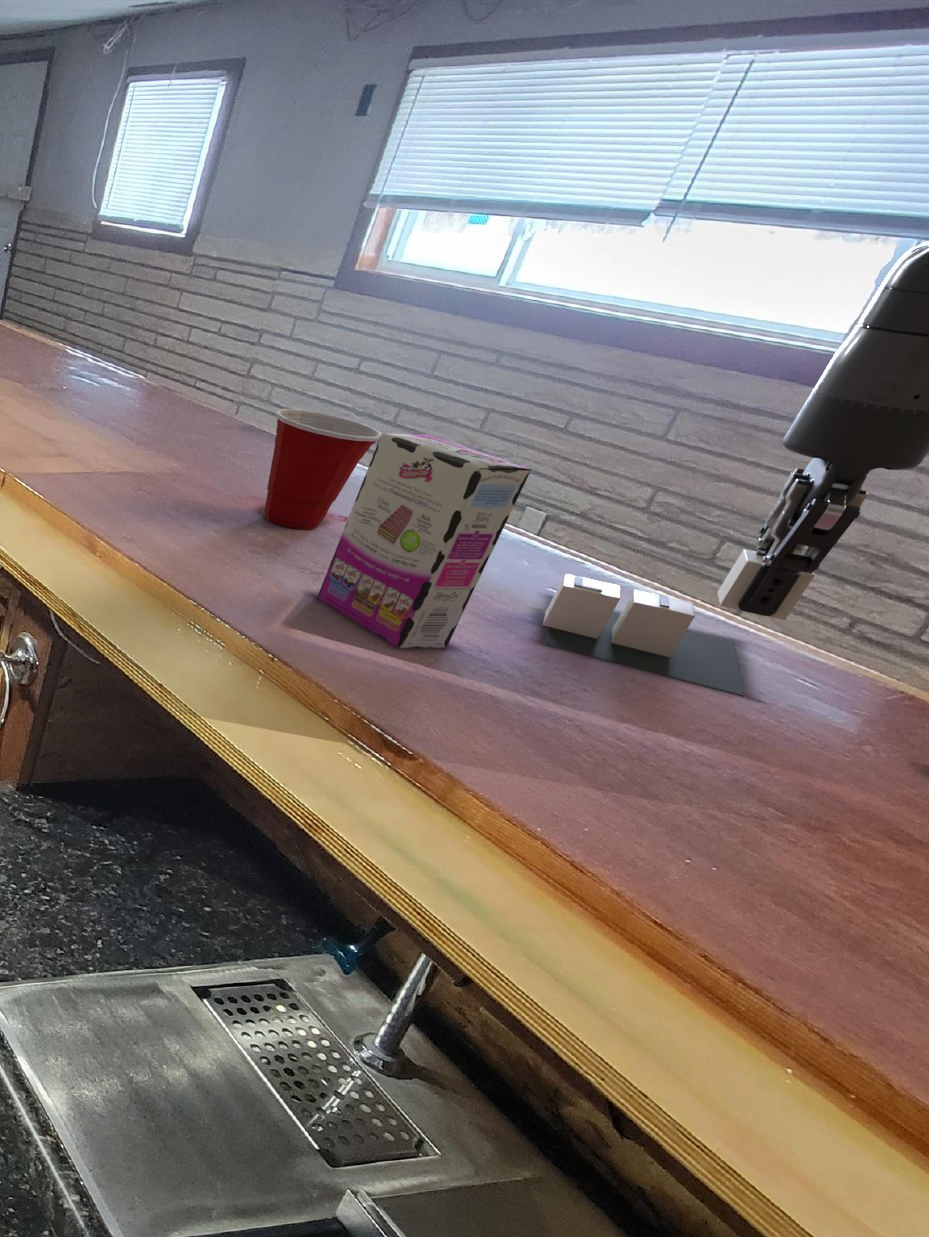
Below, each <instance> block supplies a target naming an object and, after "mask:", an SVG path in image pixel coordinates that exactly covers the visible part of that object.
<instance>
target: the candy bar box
mask: <svg viewBox="0 0 929 1237" xmlns="http://www.w3.org/2000/svg"><path fill="white" fill-rule="evenodd" d="M532 470H533V469H531V468H529V467H527V466H523V465H521V464H516V463H514V462H511V461H509V460H506V459H503V458H500V457H498V456H494V455H492V454H488V453H485V452H481V451H479V450H476V449H473V448H469V447H467V446H464V445H461V444H458V443H454V442H451V441H448V440H445V439H442V438H439V437H436V436H433V435H430V434H423V433H422V434H421V433H382V434H381V436H380V439H379V440H378V442H377V444H376V447H375V449H374V451H373V455H372V457H371V459H370V462H369V464H368V466H367V470H366V472H365V475H364V477H363V480H362V482H361V484H360V488H359V490H358V492H357V496H356V498H355V500H354V502H353V505H352V507H351V510H350V513H349V515H348V518H347V521H346V523H345V526H344V528H343V530H342V532H341V535H340V539H339V540H338V544H337V545H336V548H335V551H334V554H333V556H332V559H331V561H330V563H329V566H328V569H327V571H326V572H325V573H326V574H325V576H324V579H323V582H322V584H321V585H320V586H321V587H320V589H319V592H318V594H317V598H318V599H320V600H321V601H323V602H324V603H325V604H327V605H329V606H331V607H332V608H334V609H336V610H337V611H339V612H341V613H342V614H343V615H345V616H347V617H348V618H350V619H352V620H353V621H355V622H356V623H358V624H360V625H361V626H363V627H365V628H366V629H368V630H370V631H371V632H373V633H374V634H376V635H377V636H379V637H381V638H382V639H383V640H385V641H388V643H390V644H392V645H393V646H394V647H395V646H396V647H397V648H398V649H413V648H414V649H423V648H425V649H429V648H431V649H432V648H435V649H436V648H437V649H438V648H439V649H441V648H447V647H448V645H449V643H450V641H451V640H452V637H453V636H454V632H455V630H456V629H457V627H458V625H459V623H460V620H461V617H462V616H463V613H464V611H465V610H466V608H467V606H468V603H469V602H470V599H471V597H472V595H473V593H474V590H475V588H476V585H477V584H478V583H479V580H480V578H481V576H482V574H483V571H484V570H485V568H486V565H487V563H488V561H489V559H490V556H491V555H492V553H493V551H494V549H495V547H496V545H497V543H498V540H499V538H500V536H501V534H502V532H503V530H504V528H505V526H506V525H507V521H508V520H509V518H510V516H511V513H512V511H513V509H514V507H515V505H516V502H517V501H518V498H519V496H520V494H521V493H522V490H523V488H524V486H525V485H526V482H527V480H528V478H529V475H530V473H531V472H532Z"/></svg>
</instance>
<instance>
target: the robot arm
mask: <svg viewBox="0 0 929 1237" xmlns="http://www.w3.org/2000/svg"><path fill="white" fill-rule="evenodd" d="M871 299H872V300H871V301H870V303H869V304H868V306H867V308H866V309H865V311H864V313H863V314H862V316H861V318H860V319H859V321H858V324H856V325H855V327H854V329H853V330H852V332H851V333H850V334H849V336H848V337H847V339H845V341H844V342H843V343H842V344H841V345H840V347H839V348H838V349H837V351H836V352H835V353H834V355H833V356H832V358H831V360H829V362H828V365H827V366H826V367H825V369H824V370H823V372H822V374H821V376H820V378H819V379H818V381H817V382H816V384H815V386H814V387H813V389H812V390H811V392H810V394H809V395H808V397H807V399H806V401H805V402H804V403H803V405H802V407H801V409H800V411H799V413H798V414H797V415H796V417H795V419H794V420H793V422H792V424H791V426H790V427H789V429H788V430H787V432H786V434H785V435H784V436H783V439H782V445H783V446H784V448H786V449H787V450H788V451H790V452H792V453H794V454H795V453H796V454H798V455H801V456H803V457H804V456H805V457H808V458H811V459H812V460H811V461H810V462H809V463H808V465H806V467H805V468H798V467H796V468H795V469H794V470H793V471H791V472H790V473H789V475H788V479H787V480H786V482H785V483H784V485H783V489H782V492H781V493H780V495H779V497H778V499H777V501H776V502H775V503H774V506H773V508H772V509H771V511H770V512H769V513H768V515H767V519H766V521H765V523H764V524H763V526H762V527H760V529H759V531H758V538H759V539H758V540H757V541H756V544H755V546H756V548H755V550H756V551H760V552H761V553H766V554H767V556H765V557H764V558H763V559H762V562H763V563H762V566H761V568H760V569H759V571H758V572H757V574H756V576H755V577H754V579H753V580H752V582H751V583H750V585H749V587H748V588H747V590H746V591H745V593H744V595H743V596H742V598H741V599H740V601H739V603H738V605H739V608H740V610H739V611H742V612H745V613H750V614H754V615H759V616H763V617H768V616H771V615H773V614H775V613H776V612H777V610H778V608H779V607H780V605H781V604H782V602H783V601H784V599H785V598H786V596H787V595H788V593H789V592H790V590H791V589H792V587H793V586H794V584H795V583H796V581H797V580H798V578H799V576H800V575H805V574H806V573H810V574H812V573H813V572H814V573H815V571H817V570H818V569H819V568H820V565H821V563H822V562H823V560H824V559H825V558H826V557H827V556H828V554H829V553H830V552H831V551H832V549H833V548H834V546H835V545H836V544H837V542H839V540H840V539H841V538H842V536H843V535H844V533H846V531H847V530H848V529H849V528H850V526H851V525H852V523H853V522H854V521H855V520H856V519H858V518H859V516H860V515H861V509H862V508H861V506H862V505H863V503H864V502H865V500H866V498H867V497H868V493H869V490H864V489H863V485H864V483H865V481H866V479H867V476H868V474H869V473H870V472H871V471H873V470H876V469H884V470H888V471H905V470H911V469H914V468H916V467H918V466H919V465H921V463H922V462H923V461H924V459H925V458H926V456H927V455H928V454H929V241H927V242H923V243H921V244H919V245H917V246H914V247H912V248H910V249H909V250H907V251H906V252H905V253H904V254H903V255H902V256H901V257H900V258H899V259H898V260H897V262H896V263H895V264H894V266H893V267H892V268H891V270H890V271H889V272H888V274H887V275H886V277H885V278H884V280H883V282H882V283H881V285H880V287H878V290H877V291H876V293H875V295H874V296H873V297H872V298H871ZM805 547H807V549H806V551H805V553H804V554H802V553H803V552H804V550H805Z"/></svg>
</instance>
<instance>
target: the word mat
mask: <svg viewBox="0 0 929 1237" xmlns="http://www.w3.org/2000/svg"><path fill="white" fill-rule="evenodd" d="M619 616H620V614H618V613H614V612H613V613H612V614H611V616H610V618H609V620H608V622H607V623H606V625H605V627H604V629H603V630H602V632H601V634H600V636H599V638H598V639H596V638H592V637H588V636H584V635H580V634H576V633H572V632H568V631H564V630H560V629H556V628H552V627H548V631H547V636H546V641H545V646H548V647H552V648H556V649H560V650H563V651H567V652H571V653H575V654H577V655H578V654H579V655H582V656H586V657H590V658H594V659H598V660H602V661H606V662H608V663H609V662H610V663H614V664H616V665H621V666H625V667H629V668H633V669H636V670H641V671H645V672H649V673H651V674H655V675H660V676H663V677H668V678H671V679H675V680H678V681H683V682H687V683H691V684H693V685H694V684H695V685H698V686H702V687H706V688H710V689H714V690H716V691H717V690H718V691H721V692H725V693H729V694H733V695H737V696H740V697H745V693H744V688H743V683H742V682H743V681H742V677H741V672H740V668H739V663H738V658H737V652H736V648H735V642H734V641H732V640H729V639H724V638H721V637H716V636H712V635H707V634H703V633H699V632H695V631H690V630H688V629H687V630H686V632H685V633H684V635H683V637H682V638H681V640H680V642H679V643H678V645H677V647H676V648H675V650H674V652H673V653H672V655H671V656H670V657H666V656H662V655H658V654H654V653H650V652H646V651H642V650H638V649H634V648H630V647H626V646H622V645H618V644H614V643H611V642H612V628H613V627H614V625H615V623H616V621H617V620H618V618H619Z"/></svg>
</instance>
